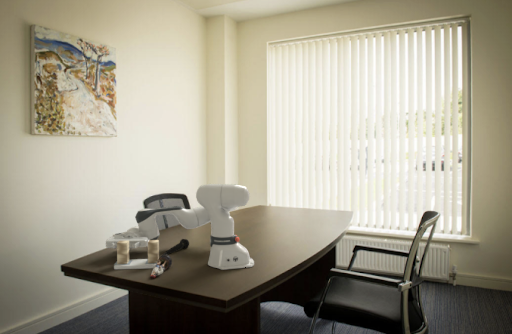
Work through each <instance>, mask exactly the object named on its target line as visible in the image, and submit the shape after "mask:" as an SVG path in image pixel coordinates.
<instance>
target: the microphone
mask: <svg viewBox="0 0 512 334" xmlns="http://www.w3.org/2000/svg"><path fill="white" fill-rule="evenodd" d="M189 246H190V241H189V240H188V239H186V238H182V239H181V240H179V243H177V244H175V245H174V246H171V247H170V248H169V249H167V250H166V251H164V252H163V254H162V255H164V254H165V255H170V254H172V253H175V252H177V251H181V250H182V249H187V248H189Z"/></svg>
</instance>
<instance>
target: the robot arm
mask: <svg viewBox="0 0 512 334" xmlns="http://www.w3.org/2000/svg"><path fill="white" fill-rule="evenodd" d="M195 194H196V195H195V198H196V201H197V202H198V204H199V205H200V206H198V207H194V208H193V207H192V208H189V209H188V208H184V207H183V206H182V205H176V206H163V207H156V208H155V207H154V208H142V209H139V210H137V212H136V214H135V216H134V217H135V220H136V223H137V225H138V226H132V227H130V228H129V229H127V230H126V231H124V232H118V233H112V236H109V237H108V238H107V239H106V241H105V247H106V248H107V249H112V250H113V249H114V250H115V249H116V250H117V243H118V242H119V241H129V250H131V249H137V248H146V247H147V248H148V241H149V240H159V239H158V238H159V237H160V230H159V227H158V224H157V223H158V222H157V219H156V218H157V216H166V215H172V216H174V218H175V219H176V221H177V222H178V223H179V224H180V225H181V226H182V227H183V228H184V229H187V230H192V229H197V228H200V227H202V226H204V225H207V224H209V223H210V228H211V229H210V231H211V232H210V233H211V234H210V237H209V245H210V246H209V247H210V250H209V251H210V253H209V256H208V257H209V258H208V261H207V265H208V266H210V267H211V268H217V269H219V270H222V271H223V270H234V269H235V270H236V269H244V268H245V267H246V268H252V267H253V266H255V260H254V259H253V258H252V257H250V253H249V251H248V249H247V248H246V247H245V246H244V245H242V244H241V243H240V240H241V239H240V237H239V236H238V235H237V234H235V220H234V218H233V217H232V216H231V213H230V212H233V211H235V210H236V209H237V208H238V207H245V206H246V205H247V204H248V203H249V200H250V197H251V196H250V191H249V189H248V187H247V186H245V185H240V184H233V183H231V184H229V183H225V184H224V183H223V184H222V183H207V184H202V185H200V186H199V187H198V188H197V190H196V192H195ZM246 268H245V269H246Z"/></svg>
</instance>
